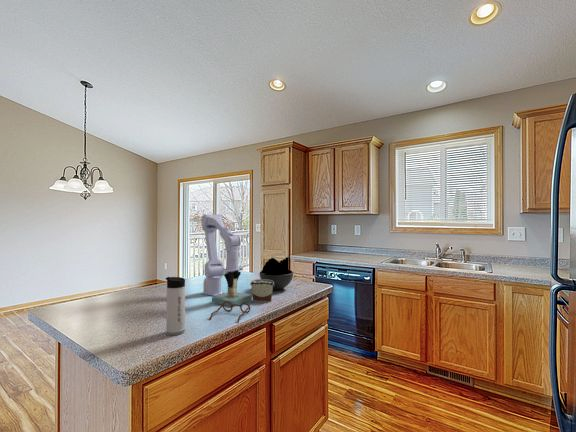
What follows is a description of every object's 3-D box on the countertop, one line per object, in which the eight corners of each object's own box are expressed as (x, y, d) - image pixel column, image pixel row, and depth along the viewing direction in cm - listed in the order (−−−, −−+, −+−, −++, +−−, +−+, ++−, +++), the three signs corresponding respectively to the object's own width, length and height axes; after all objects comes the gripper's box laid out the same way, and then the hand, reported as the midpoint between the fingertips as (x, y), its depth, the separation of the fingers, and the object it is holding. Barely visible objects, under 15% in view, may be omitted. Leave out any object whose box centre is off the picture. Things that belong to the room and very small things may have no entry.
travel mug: (168, 329, 107) (169, 275, 107) (186, 328, 107) (187, 275, 108) (162, 336, 101) (163, 279, 101) (182, 335, 101) (182, 278, 101)
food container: (275, 298, 149) (276, 279, 149) (274, 301, 143) (274, 281, 143) (252, 297, 150) (252, 278, 150) (249, 301, 144) (250, 281, 144)
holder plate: (211, 302, 141) (211, 297, 141) (230, 296, 153) (230, 291, 153) (233, 306, 134) (233, 301, 134) (251, 299, 146) (251, 294, 146)
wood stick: (227, 296, 144) (227, 278, 144) (230, 295, 146) (230, 277, 146) (233, 297, 142) (233, 279, 142) (236, 296, 144) (236, 278, 144)
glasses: (250, 314, 126) (250, 302, 126) (238, 324, 113) (238, 311, 113) (223, 311, 129) (223, 300, 129) (208, 321, 116) (208, 309, 117)
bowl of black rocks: (255, 292, 160) (255, 259, 161) (264, 284, 180) (264, 254, 180) (290, 294, 157) (290, 260, 157) (295, 286, 177) (295, 255, 177)
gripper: (228, 262, 136) (228, 290, 136) (247, 258, 148) (247, 284, 148) (217, 261, 139) (217, 288, 139) (237, 257, 152) (236, 283, 152)
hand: (232, 286), depth 144 cm, fingers closed on wood stick, 2 cm apart
